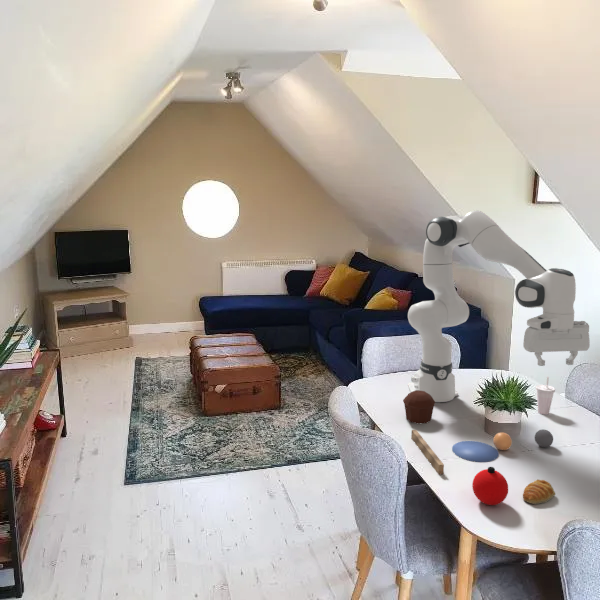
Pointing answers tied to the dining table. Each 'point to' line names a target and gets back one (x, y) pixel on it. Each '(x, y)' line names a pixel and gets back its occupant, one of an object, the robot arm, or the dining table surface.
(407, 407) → the muffin
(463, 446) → the blue flat disc
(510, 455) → the dining table surface
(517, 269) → the robot arm
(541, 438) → the grey matte sphere
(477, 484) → the ornament
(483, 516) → the dining table surface
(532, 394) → the dining table surface
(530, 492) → the pastry
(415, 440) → the wall
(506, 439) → the object ball
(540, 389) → the smoothie
